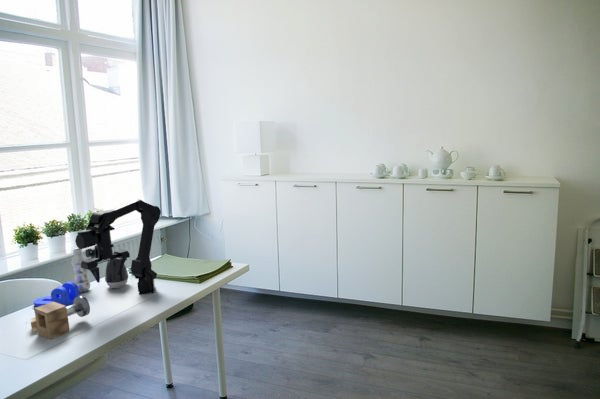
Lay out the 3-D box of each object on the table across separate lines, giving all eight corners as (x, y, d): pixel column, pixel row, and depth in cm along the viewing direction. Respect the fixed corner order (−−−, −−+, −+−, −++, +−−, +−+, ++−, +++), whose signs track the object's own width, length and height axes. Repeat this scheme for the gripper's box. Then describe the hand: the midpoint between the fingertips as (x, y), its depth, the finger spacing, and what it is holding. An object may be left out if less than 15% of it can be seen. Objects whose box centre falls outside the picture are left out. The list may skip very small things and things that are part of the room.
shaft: (79, 312, 179) (77, 293, 177) (91, 316, 174) (88, 297, 173) (49, 324, 169) (46, 304, 168) (60, 329, 164) (57, 308, 163)
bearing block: (57, 326, 172) (53, 301, 170) (69, 331, 167) (66, 306, 165) (38, 333, 166) (34, 308, 165) (50, 339, 161) (46, 313, 160)
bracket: (80, 301, 197) (77, 281, 196) (67, 308, 189) (64, 288, 188) (43, 300, 200) (40, 281, 199) (29, 308, 192) (26, 287, 191)
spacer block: (44, 325, 173) (42, 315, 173) (44, 329, 170) (42, 319, 169) (32, 328, 172) (30, 318, 171) (32, 332, 168) (30, 322, 167)
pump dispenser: (133, 285, 213) (130, 254, 211) (112, 291, 206) (108, 259, 204) (123, 280, 220) (120, 250, 218) (102, 287, 213) (98, 256, 211)
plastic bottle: (78, 289, 212) (72, 248, 208) (93, 288, 212) (87, 247, 209) (72, 294, 205) (66, 252, 202) (88, 293, 206) (82, 251, 202)
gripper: (113, 235, 196) (117, 269, 199) (71, 246, 181) (76, 283, 184) (128, 238, 190) (132, 273, 193) (86, 249, 175) (91, 287, 178)
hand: (108, 279), depth 187 cm, fingers open, 9 cm apart
